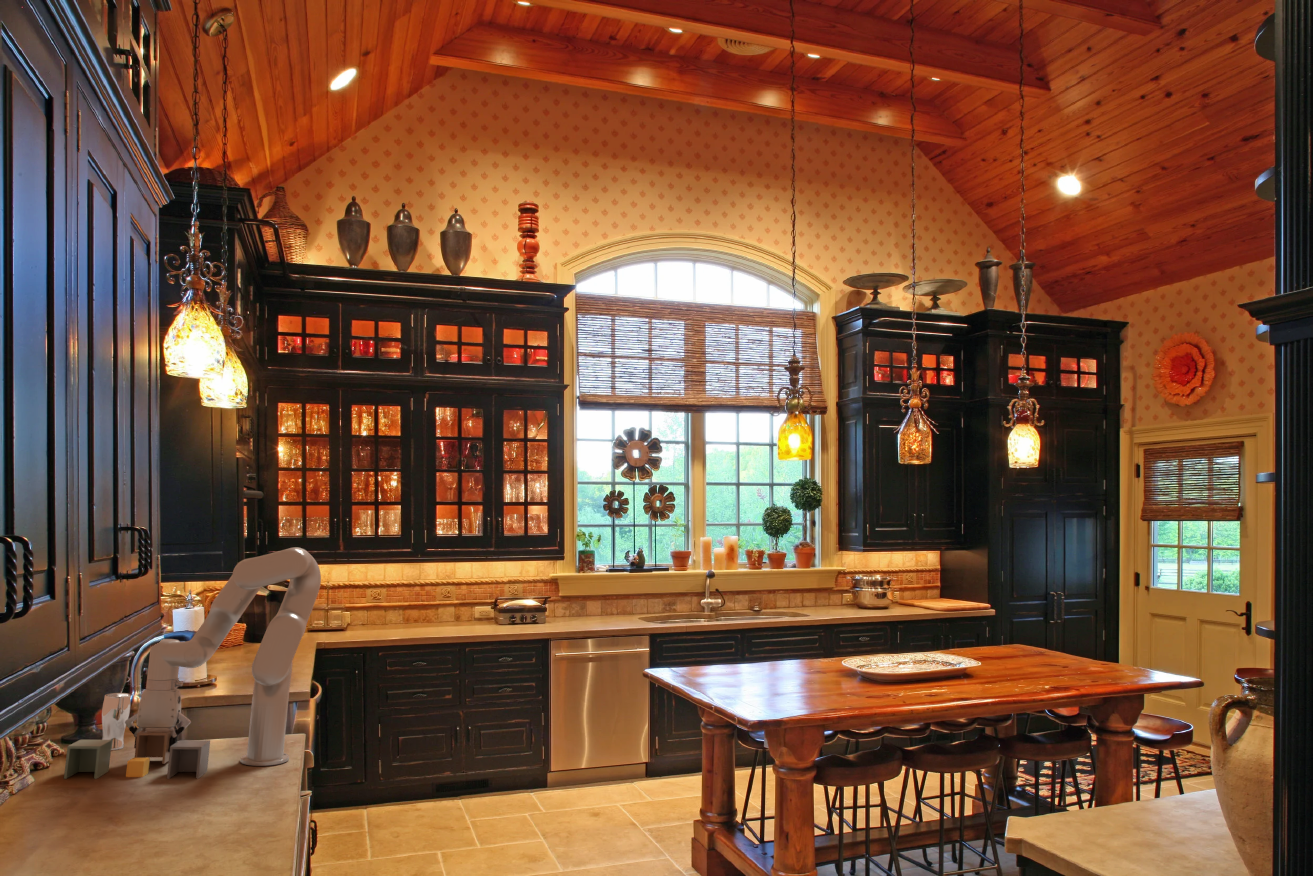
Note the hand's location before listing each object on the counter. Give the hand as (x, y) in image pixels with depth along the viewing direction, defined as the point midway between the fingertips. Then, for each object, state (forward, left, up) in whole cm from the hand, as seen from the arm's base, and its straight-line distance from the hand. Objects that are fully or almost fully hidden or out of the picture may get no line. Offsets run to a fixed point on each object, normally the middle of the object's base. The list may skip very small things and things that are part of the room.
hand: (155, 750), depth 249 cm
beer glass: (-18, -17, -4) cm, 25 cm away
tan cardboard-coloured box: (0, 0, -2) cm, 2 cm away
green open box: (+12, -12, -3) cm, 17 cm away
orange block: (+12, 0, -3) cm, 12 cm away
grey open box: (+12, +12, -3) cm, 17 cm away
